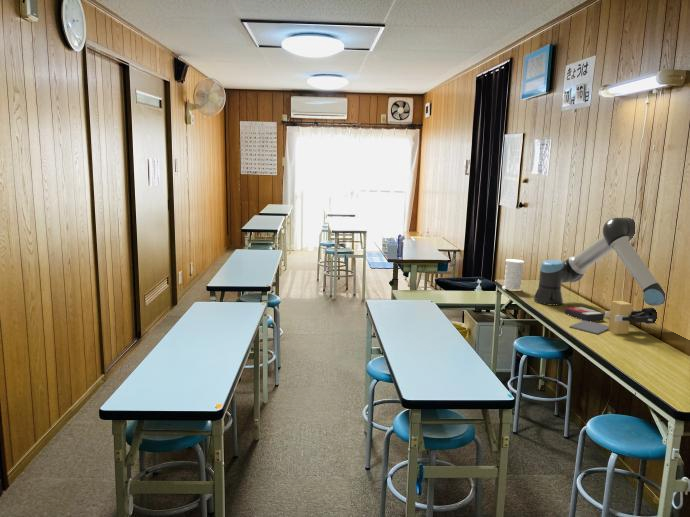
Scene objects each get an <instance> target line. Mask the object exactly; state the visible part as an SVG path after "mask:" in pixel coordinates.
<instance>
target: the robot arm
mask: <svg viewBox="0 0 690 517" xmlns="http://www.w3.org/2000/svg"><path fill="white" fill-rule="evenodd" d="M634 234H635V222H634V220H633V219H631V218H628V217H612V218H610V219H608V220H606V222H605V223H604V225H603V227H602V235H603V236H601V237H600V238H598V239H597V240H596V241H594V242H592V244H590V245H589V246H588V247H586V248H585V249H584V250H582V251H581V252H580V253H578V254H577V255H572V256H569V257H568V258H567V259H566V260H564V261H562V260H560V259H546V260H543V261H542V262H541V263H540V264H541V265H540V268H539V280H538V288H537V289H536V291H535V294H534V296H533V301H534V300H535V301H537V302H540V303H539V304H541V303H545V304H544V305H546V304H555V305H554V306H557V305H556V304H562V305H563V302H564V299H563V295H562V284H563V283H565V284H566V283H575V282H577V281H580V280H581V279H583V277H584V275H585V273H587V272H586V271H587V269H588V268H589V267H591V266H592V265H594V264H595V263H596V262H597V261H599V260H600V259H601V258H604V256H606V255H608V254H609V253H611V252H612V251H613V250H614V251H615V253H616V254H617V256H618V257H619V258H620V260H621V261H622V263H623V265H624V266H625V267H626V269H627V270H628V272H629V273H630V275H631V276H632V278H633V279H634V281H635V282H636V283H637V285H638V287H639V288H640V289H641V290H642V292H643V295H642V297H643V298H642V299H643V301H644V302H645V303H646V305H648V306H653V307H657V306H662V305H661V304H663V303H664V301H665V293H664V291H663V289H662V288H663V287H662V286H661V284H660V283H659V282H658V281H657V279H656V277H655V276H654V275H653V274H652V272H651V271H650V269H649V268H648V266H647V264H646V263H645V262H644V260H643V259H642V257H641V256H640V255H639V253H638V252H637V251H636V249H635V248H634V246H633V245H632V243H631V241H630V240H631V239H632V238H633V236H634ZM629 241H630V242H629ZM535 301H534V302H535ZM537 302H536V303H537ZM653 307H644V308H642V309H641V310H634V309H632V310H631V315H629V316H628V315H615V322H621V321H629V322H630V323H633V324H641V323H644V324H646V325H647V324H648V325H649V324H652V325H653V324H656V323H655V321H656V319H657V312H656V310H655V309H654V308H653ZM610 311H611V310H609V311H607V310H605V313H604V318H610Z"/></svg>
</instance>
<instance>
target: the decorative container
mask: <svg viewBox="0 0 690 517" xmlns="http://www.w3.org/2000/svg"><path fill="white" fill-rule="evenodd" d="M505 263H506V264H505V270H504V281H503V284H504V285H503V286H501V289H502V290H503V291H506V290H505V289H507V288H512V289H521V288H522V287H521V285H522V279H523V277H522V275H523V269H524V267H523V265H524V264H525V261H524V260H522V259H517V258H515V259H513V258H506V259H505Z"/></svg>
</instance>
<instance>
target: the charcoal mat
mask: <svg viewBox="0 0 690 517" xmlns="http://www.w3.org/2000/svg"><path fill="white" fill-rule="evenodd" d="M608 326H609V325H606V324H603V323H598V322H596V321H593V322H590V321H586V320H584V321H583V320H581V321H580V322H577V323H574V324H572V325H569V328H571V329H574V328H575V329H574V330H578V329H579V331H582V330H583V332H587V333H590V334H594V335H599V333H600V334H602V333H604V332H607V331H609V330H608ZM601 332H602V333H601Z"/></svg>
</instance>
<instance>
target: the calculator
mask: <svg viewBox="0 0 690 517" xmlns="http://www.w3.org/2000/svg"><path fill="white" fill-rule="evenodd" d="M565 313H566V314H565ZM564 314H565V315H567V314H569V315H568V316H570V315H571V316H570V317H572V316H574V317H573V318H575V317H577V318H576V319H578V318H579V320H580V319H582V320H581V321H583V320H586V321H593V322H601V321H600V320H603V321H604V318H605V313H603V312H599V311H596V310H594V309H590V308H587V307H583V306H579V307H577V306H574V307H566V308H565V310H564Z"/></svg>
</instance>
